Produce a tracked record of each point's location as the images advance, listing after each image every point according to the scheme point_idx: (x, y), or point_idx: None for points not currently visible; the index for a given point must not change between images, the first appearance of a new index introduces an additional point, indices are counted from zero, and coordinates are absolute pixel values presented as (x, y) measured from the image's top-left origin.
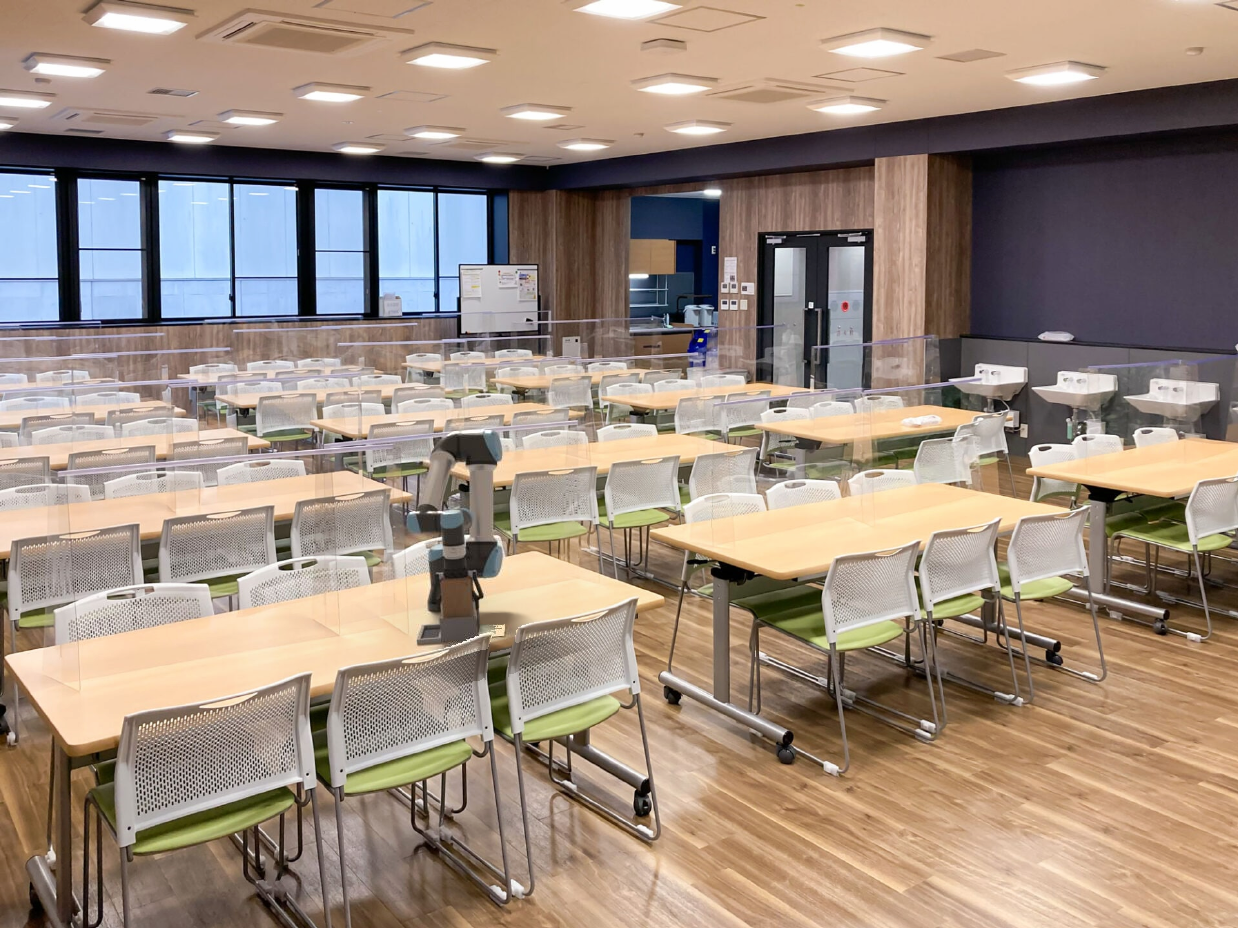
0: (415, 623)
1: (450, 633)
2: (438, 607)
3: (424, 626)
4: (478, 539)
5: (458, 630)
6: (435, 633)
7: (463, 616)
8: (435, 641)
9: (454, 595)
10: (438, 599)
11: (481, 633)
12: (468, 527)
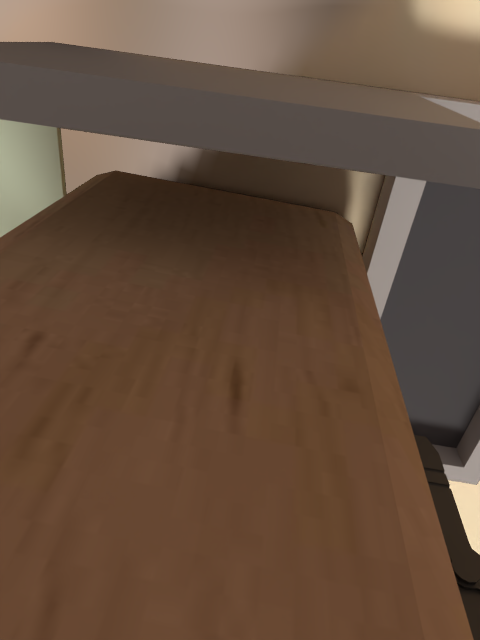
0: (473, 546)
1: (313, 84)
2: (438, 489)
3: (462, 460)
4: None
5: (211, 72)
6: (408, 336)
7: (106, 246)
8: (472, 101)
9: (78, 583)
10: (477, 620)
11: (39, 203)
12: None
